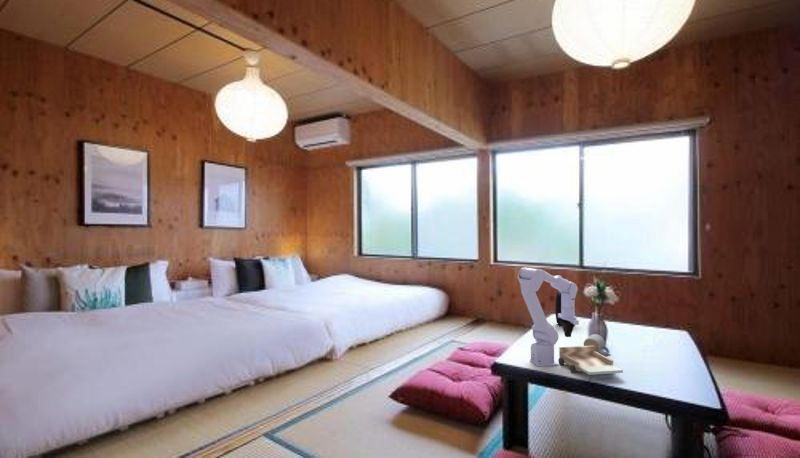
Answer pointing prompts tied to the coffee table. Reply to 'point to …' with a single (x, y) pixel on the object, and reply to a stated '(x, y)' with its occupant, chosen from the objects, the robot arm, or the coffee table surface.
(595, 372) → the tailgate
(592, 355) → the wagon
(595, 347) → the ceramic mug
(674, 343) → the coffee table surface
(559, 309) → the portable speaker
